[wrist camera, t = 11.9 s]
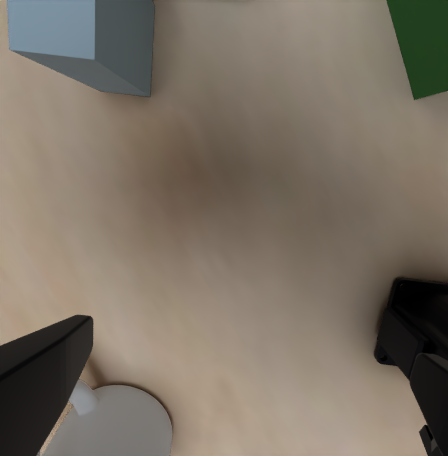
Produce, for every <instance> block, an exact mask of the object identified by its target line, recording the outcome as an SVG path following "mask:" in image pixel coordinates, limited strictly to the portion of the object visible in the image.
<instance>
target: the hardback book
mask: <svg viewBox="0 0 448 456" xmlns="http://www.w3.org/2000/svg"><path fill="white" fill-rule="evenodd" d="M387 4H388V7H389V11H390V14H391V18H392V22H393V25H394V29H395V32H396V36H397V39H398V43H399V47H400V50H401V54H402V57H403V61H404V65H405V68H406V72H407V75H408V79H409V82H410V86H411V90H412V93H413V97H414V100H415V99H419V98H423V97H426V96H430V95H434V94H437V93H441V92H445V91H448V0H387Z"/></svg>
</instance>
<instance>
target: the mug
mask: <svg viewBox="0 0 448 456" xmlns="http://www.w3.org/2000/svg"><path fill="white" fill-rule="evenodd" d="M68 401H69V402H71V404H72V405H73V407H72V408H71V410H70V411H69V413H68V414H67V416H66V417H65V419H64V420H63V422H62V424H61V425H60V427H59V428H58V430H57V432H56V433H55V435H54V437H53V438H52V440H51V441H50V443H49V445H48V446H47V448H46V450H45V451H44V453H43V454H42V456H170V452H171V445H172V425H171V421H170V419H169V416H168V414H167V412H166V410H165V409H164V407H163V406H162V405H161V404H160V403H159V402H158V401H157V400H156V399H155V398H154V397H152V396H151V395H150V394H148V393H146V392H144V391H142V390H140V389H137V388H134V387H130V386H124V385H110V386H104V387H100V388H97V389H94V390H92V389H91V387H90V386H89V385H88V384H86V383H85V382H83V381H82V380H80V379H78V381H77V383H76V386H75V388H74V390H73V392H72V394H71V396H70V398H69V400H68ZM37 456H40V451H39V452H38V454H37Z"/></svg>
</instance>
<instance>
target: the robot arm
mask: <svg viewBox="0 0 448 456" xmlns="http://www.w3.org/2000/svg"><path fill="white" fill-rule="evenodd" d="M401 284H404V286H403V287H402V288H400V285H401ZM377 340H378V343H377V346H376V350H375V354H374V356H375V359H376V360H377V361H378V362H379V363H380V364H384V365H393V366H398V367H399V368H400V370H401V371H402V372H403V373H404V375H405V376H406V377H407V379H408V380H409V381H410V386H411V389H412V391H413V393H414V396H415V398H416V400H417V402H418V405H419V407H420V409H421V411H422V413H423V416H424V418H425V420H426V422H427V425H424V426H423V428H422V429H421V430H420V431H419V434H420V436H421V439H422V442H423V444H424V447H425V450H426V452H427V455H428V456H448V283H445V282H436V281H427V280H419V279H410V278H398V279H396V280H395V281H394V283H393V286H392V290H391V294H390V298H389V301H388V305H387V307H386V308H385V310H384V314H383V318H382V322H381V325H380V329H379V333H378V337H377ZM92 347H93V318H92V317H91V316H86V315H75V316H72V317H70V318H67V319H65V320H62V321H60V322H58V323H55V324H53V325H50V326H48V327H45V328H43V329H40V330H38V331H35V332H33V333H30V334H28V335H25V336H23V337H21V338H18V339H16V340H13V341H11V342H8V343H6V344H3V345H1V346H0V456H37V454H38V452H39V451H40V449H41V447H42V446H43V444H44V442H45V440H46V439H47V437H48V435H49V434H50V432H51V430H52V429H53V427H54V425H55V424H56V422H57V420H58V419H59V417H60V415H61V413H62V412H63V410H64V408H65V406H66V405H67V403H68V400H69V398H70V396H71V394H72V392H73V390H74V388H75V386H76V383H77V381H78V379H79V377H80V375H81V373H82V370H83V368H84V366H85V364H86V362H87V360H88V357H89V355H90V353H91V350H92ZM383 355H385V356H384V357H382V358H381V356H383Z"/></svg>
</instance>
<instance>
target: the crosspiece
mask: <svg viewBox="0 0 448 456" xmlns="http://www.w3.org/2000/svg"><path fill="white" fill-rule="evenodd" d="M7 12H8V32H9V50H11V51H13V52H16V53H18V54H20V55H22V56H24V57H27V58H29V59H31V60H33V61H35V62H38V63H40V64H42V65H44V66H46V67H49V68H51V69H53V70H55V71H57V72H59V73H62V74H64V75H66V76H68V77H70V78H73V79H75V80H77V81H79V82H81V83H84V84H86V85H88V86H90V87H92V88H95V89H97V90H99V91H103V92H112V93H120V94H129V95H138V96H146V97H150V93H151V73H152V54H153V34H154V14H155V6H154V4H153V2H152V0H7Z"/></svg>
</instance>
